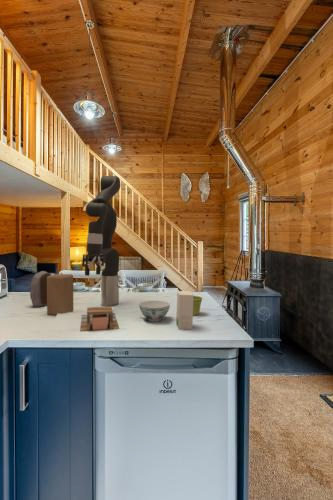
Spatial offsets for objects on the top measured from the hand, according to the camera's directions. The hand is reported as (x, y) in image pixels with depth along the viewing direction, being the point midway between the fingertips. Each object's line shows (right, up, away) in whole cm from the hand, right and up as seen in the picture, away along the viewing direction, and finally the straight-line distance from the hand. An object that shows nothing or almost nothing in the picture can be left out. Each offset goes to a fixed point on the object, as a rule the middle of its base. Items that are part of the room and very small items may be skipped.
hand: (92, 274), depth 151 cm
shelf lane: (+6, -21, -14) cm, 26 cm away
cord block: (+7, -20, -17) cm, 27 cm away
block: (-18, -21, +6) cm, 28 cm away
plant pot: (+51, -21, +6) cm, 56 cm away
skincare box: (+45, -22, -16) cm, 53 cm away
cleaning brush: (-36, -20, +24) cm, 47 cm away
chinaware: (+31, -22, -5) cm, 38 cm away
